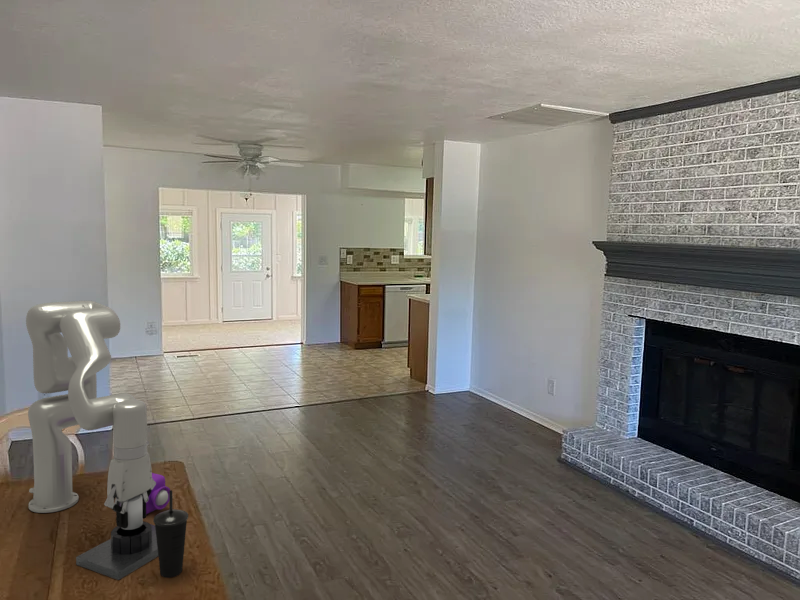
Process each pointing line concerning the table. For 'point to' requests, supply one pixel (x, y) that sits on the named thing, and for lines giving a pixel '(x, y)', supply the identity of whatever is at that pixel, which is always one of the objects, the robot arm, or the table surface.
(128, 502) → the white cylinder
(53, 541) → the table surface
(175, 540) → the drinking cup
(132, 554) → the lens mount
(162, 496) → the toy camera
